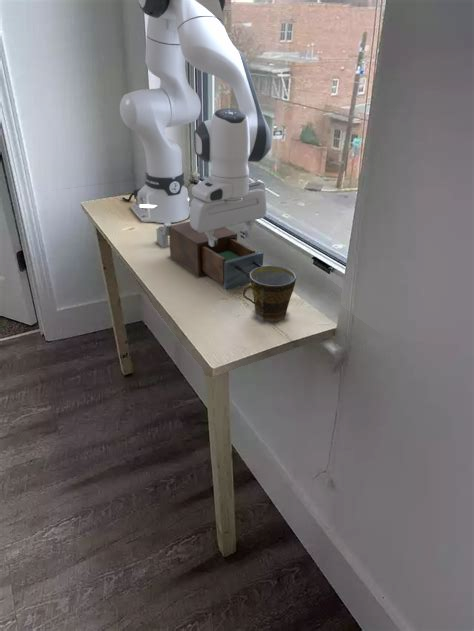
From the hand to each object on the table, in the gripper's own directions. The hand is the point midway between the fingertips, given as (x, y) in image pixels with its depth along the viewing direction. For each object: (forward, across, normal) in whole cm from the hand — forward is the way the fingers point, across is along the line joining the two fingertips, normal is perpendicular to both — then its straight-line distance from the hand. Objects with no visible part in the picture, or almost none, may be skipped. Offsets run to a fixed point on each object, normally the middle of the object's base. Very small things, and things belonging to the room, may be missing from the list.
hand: (229, 241), depth 125 cm
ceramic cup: (+10, +4, +21) cm, 23 cm away
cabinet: (+10, 0, -12) cm, 16 cm away
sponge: (+8, 0, 0) cm, 8 cm away
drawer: (+9, 0, +3) cm, 10 cm away
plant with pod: (+10, -10, -29) cm, 33 cm away
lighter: (+10, +4, -27) cm, 29 cm away
